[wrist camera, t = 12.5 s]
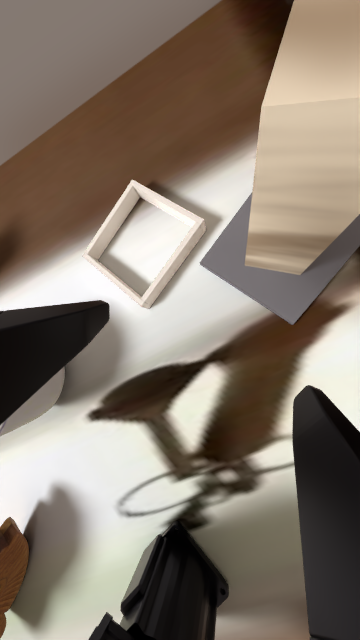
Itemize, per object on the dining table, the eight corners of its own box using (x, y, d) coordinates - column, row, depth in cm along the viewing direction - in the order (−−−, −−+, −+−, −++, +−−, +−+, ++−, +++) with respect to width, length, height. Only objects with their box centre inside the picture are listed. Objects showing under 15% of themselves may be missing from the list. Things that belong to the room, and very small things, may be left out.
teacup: (76, 330, 24) (4, 325, 17) (81, 414, 23) (3, 452, 15) (7, 344, 28) (-78, 346, 21) (7, 418, 27) (-85, 449, 19)
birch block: (299, 275, 17) (485, 85, 4) (244, 265, 18) (261, 107, 6) (315, 223, 17) (543, -113, 4) (258, 218, 18) (305, -37, 6)
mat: (376, 224, 16) (380, 221, 15) (292, 324, 17) (293, 324, 16) (264, 178, 19) (264, 175, 18) (200, 264, 20) (199, 263, 20)
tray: (206, 229, 20) (204, 219, 18) (148, 309, 21) (141, 306, 20) (139, 191, 24) (132, 179, 22) (92, 261, 25) (82, 255, 23)
